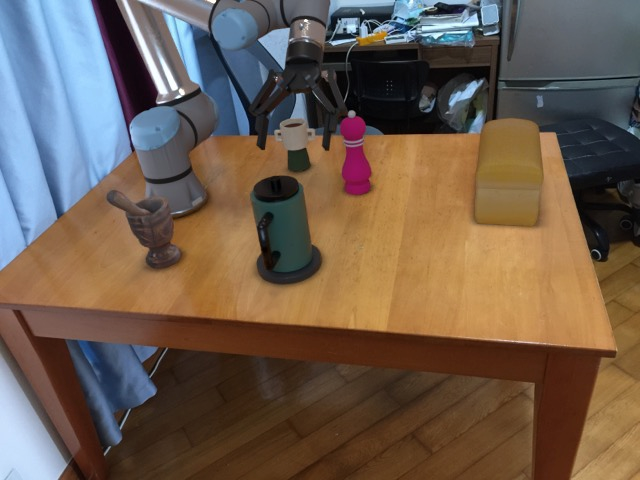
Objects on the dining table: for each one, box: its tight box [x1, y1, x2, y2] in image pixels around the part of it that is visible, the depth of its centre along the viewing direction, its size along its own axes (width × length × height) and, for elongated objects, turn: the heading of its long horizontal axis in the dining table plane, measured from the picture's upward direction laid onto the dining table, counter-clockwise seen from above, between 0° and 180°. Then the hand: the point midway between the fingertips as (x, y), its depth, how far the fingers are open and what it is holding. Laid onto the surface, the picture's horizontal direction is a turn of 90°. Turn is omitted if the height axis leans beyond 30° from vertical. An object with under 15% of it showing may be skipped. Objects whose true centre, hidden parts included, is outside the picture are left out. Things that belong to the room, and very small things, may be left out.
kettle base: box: [256, 243, 322, 285], centre depth 110 cm, size 13×13×2 cm
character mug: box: [273, 117, 317, 173], centre depth 144 cm, size 11×7×13 cm, turn 80°
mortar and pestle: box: [105, 189, 182, 270], centre depth 110 cm, size 12×9×20 cm
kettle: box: [249, 174, 313, 272], centre depth 104 cm, size 19×10×18 cm, turn 164°
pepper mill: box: [339, 110, 372, 196], centre depth 129 cm, size 7×7×20 cm
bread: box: [473, 117, 545, 227], centre depth 119 cm, size 24×13×15 cm, turn 164°
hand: (292, 148), depth 107 cm, fingers open, 13 cm apart
